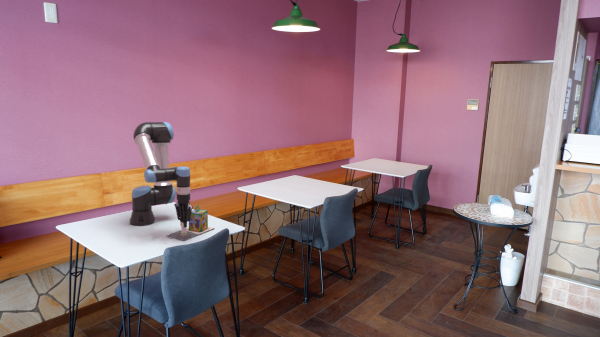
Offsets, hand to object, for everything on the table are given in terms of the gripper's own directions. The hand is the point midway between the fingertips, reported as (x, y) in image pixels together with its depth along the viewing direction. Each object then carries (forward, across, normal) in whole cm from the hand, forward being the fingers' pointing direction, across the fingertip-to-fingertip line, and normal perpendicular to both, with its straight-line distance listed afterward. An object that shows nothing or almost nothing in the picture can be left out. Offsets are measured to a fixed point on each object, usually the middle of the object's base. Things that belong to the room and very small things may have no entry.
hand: (183, 232), depth 232 cm
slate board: (+3, -2, +8) cm, 9 cm away
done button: (+2, 0, 0) cm, 2 cm away
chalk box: (+2, -2, +14) cm, 14 cm away
